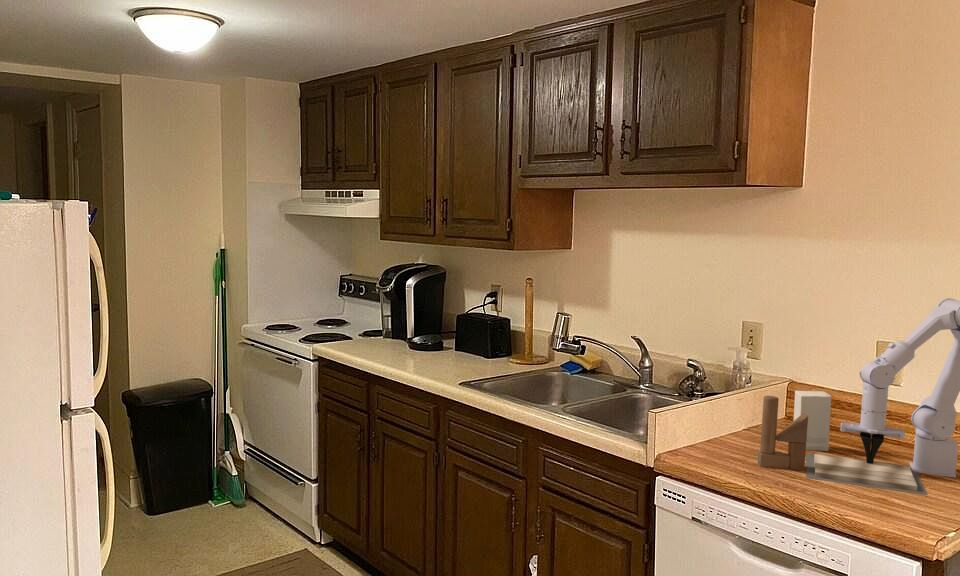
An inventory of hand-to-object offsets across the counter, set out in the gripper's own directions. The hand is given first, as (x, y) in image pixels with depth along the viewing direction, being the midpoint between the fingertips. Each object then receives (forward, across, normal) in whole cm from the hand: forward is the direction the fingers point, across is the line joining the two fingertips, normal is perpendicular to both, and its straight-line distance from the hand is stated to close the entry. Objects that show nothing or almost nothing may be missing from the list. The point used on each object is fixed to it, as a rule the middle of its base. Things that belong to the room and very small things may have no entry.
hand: (869, 462), depth 201 cm
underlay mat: (+2, -2, -6) cm, 6 cm away
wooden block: (+2, -21, -10) cm, 23 cm away
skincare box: (+2, -14, +12) cm, 19 cm away
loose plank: (+1, -2, -2) cm, 3 cm away
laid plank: (+1, -2, -11) cm, 11 cm away
